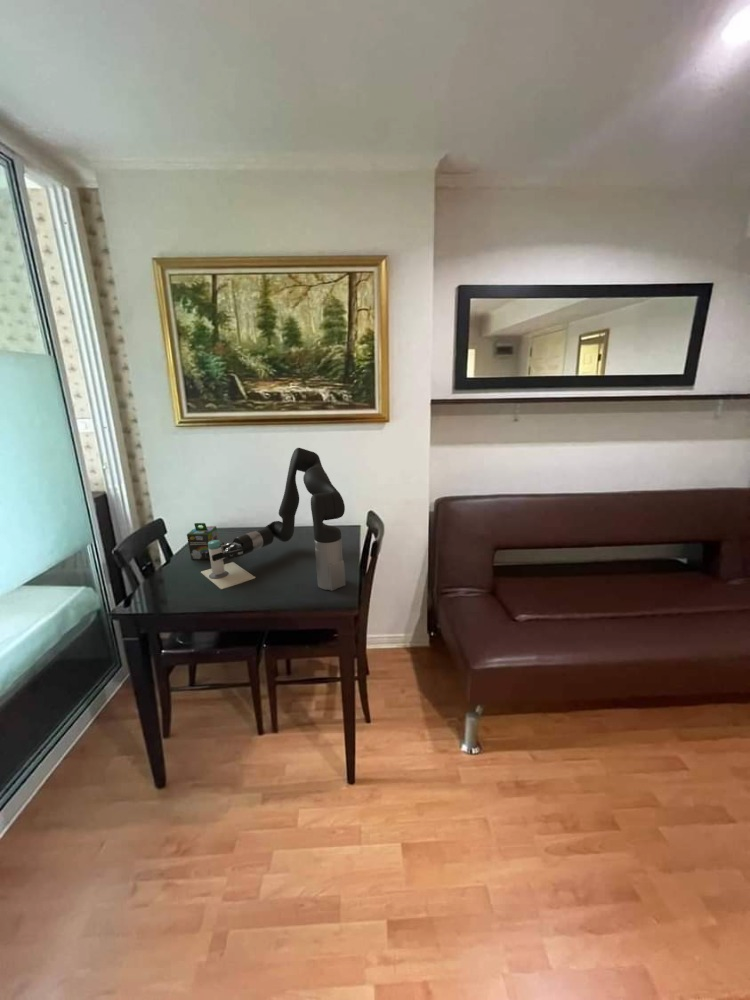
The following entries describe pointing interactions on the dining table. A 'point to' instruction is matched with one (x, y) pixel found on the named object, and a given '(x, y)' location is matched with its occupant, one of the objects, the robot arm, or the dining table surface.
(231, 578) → the paper
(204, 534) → the chalk box
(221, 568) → the white bottle
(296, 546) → the dining table surface
